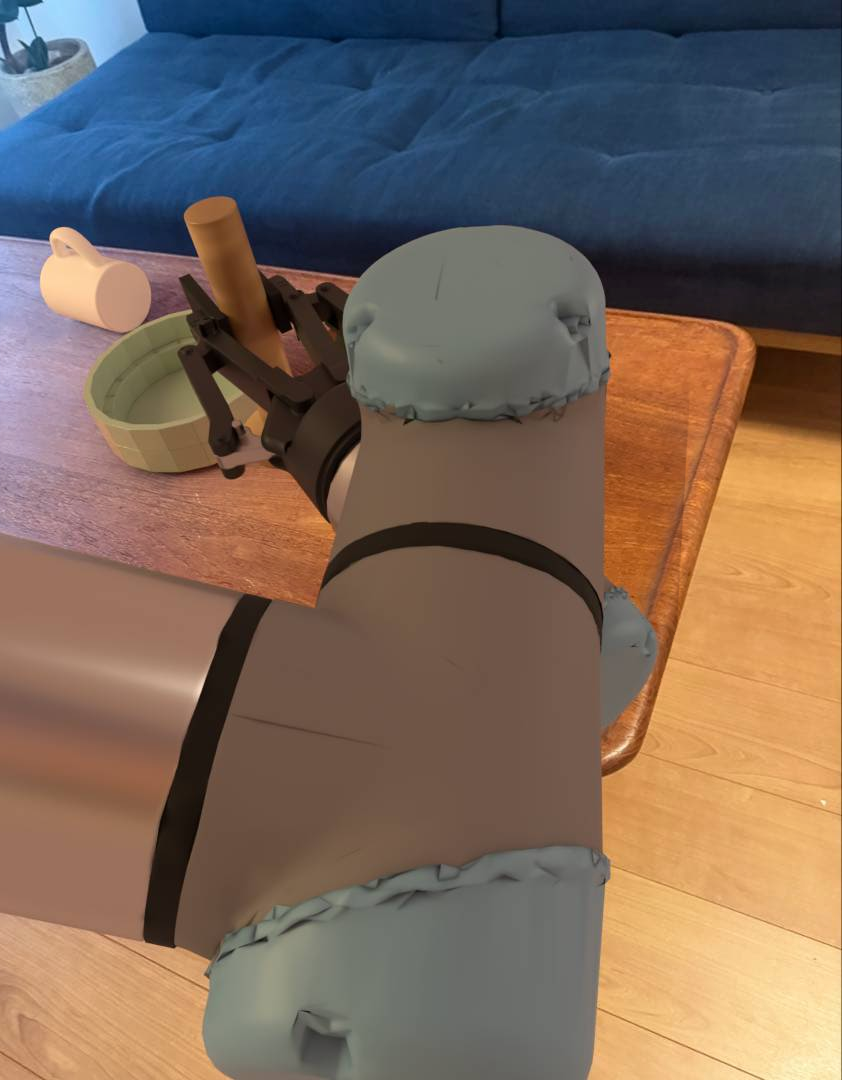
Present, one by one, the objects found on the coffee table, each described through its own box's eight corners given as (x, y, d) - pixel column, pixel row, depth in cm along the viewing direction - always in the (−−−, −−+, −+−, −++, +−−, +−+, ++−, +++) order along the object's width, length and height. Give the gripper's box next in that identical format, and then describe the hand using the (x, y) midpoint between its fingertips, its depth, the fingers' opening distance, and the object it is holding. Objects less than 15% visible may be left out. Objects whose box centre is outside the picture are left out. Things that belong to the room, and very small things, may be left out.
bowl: (103, 496, 81) (72, 448, 77) (119, 378, 94) (94, 330, 90) (295, 453, 81) (276, 402, 76) (284, 340, 94) (268, 291, 89)
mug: (115, 346, 99) (68, 256, 90) (60, 329, 103) (10, 242, 94) (161, 308, 103) (121, 219, 94) (106, 293, 107) (63, 206, 98)
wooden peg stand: (248, 477, 56) (150, 250, 43) (246, 418, 60) (156, 195, 48) (338, 457, 56) (268, 224, 43) (330, 400, 60) (263, 171, 48)
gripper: (265, 605, 41) (126, 379, 55) (528, 459, 45) (334, 284, 59) (215, 502, 35) (75, 280, 49) (521, 346, 39) (309, 183, 53)
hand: (216, 283), depth 54 cm, fingers closed on wooden peg stand, 3 cm apart
